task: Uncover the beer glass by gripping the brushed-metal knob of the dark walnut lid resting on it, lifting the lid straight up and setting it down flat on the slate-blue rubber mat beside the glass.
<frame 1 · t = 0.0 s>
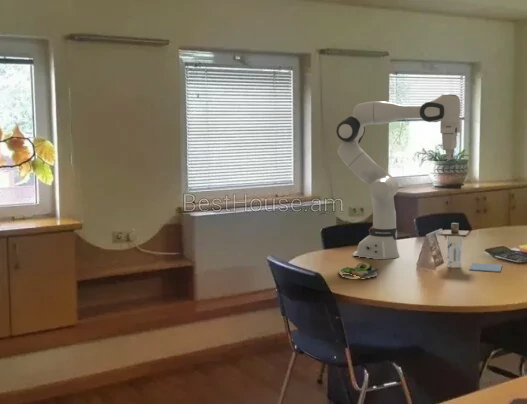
hand: (449, 158, 312), 48 cm above the table, fingers open, 8 cm apart
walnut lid: (454, 234, 302), point 15 cm above the table, touching beer glass
beer glass: (454, 267, 304), on the table, touching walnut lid
slate mat: (485, 268, 300), on the table
salad plate: (358, 275, 294), on the table
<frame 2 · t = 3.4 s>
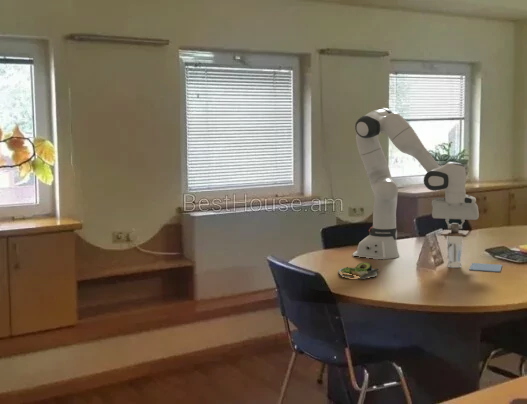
hand: (454, 228, 302), 17 cm above the table, fingers closed on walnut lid, 3 cm apart
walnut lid: (454, 234, 302), point 15 cm above the table, touching beer glass, gripper
everything else where it was.
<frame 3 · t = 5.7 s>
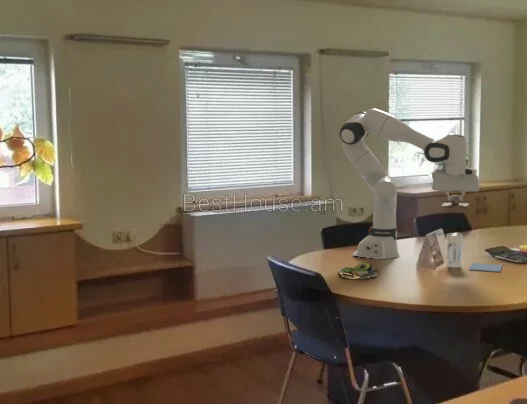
hand: (455, 200, 300), 30 cm above the table, fingers closed on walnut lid, 3 cm apart
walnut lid: (455, 206, 301), point 28 cm above the table, touching gripper
beer glass: (454, 267, 304), on the table
everything else where it was.
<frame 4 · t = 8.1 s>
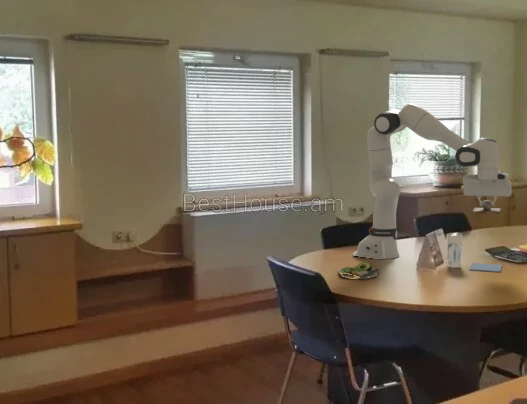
hand: (487, 206, 296), 28 cm above the table, fingers closed on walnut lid, 3 cm apart
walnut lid: (486, 211, 297), point 26 cm above the table, touching gripper
everything else where it was.
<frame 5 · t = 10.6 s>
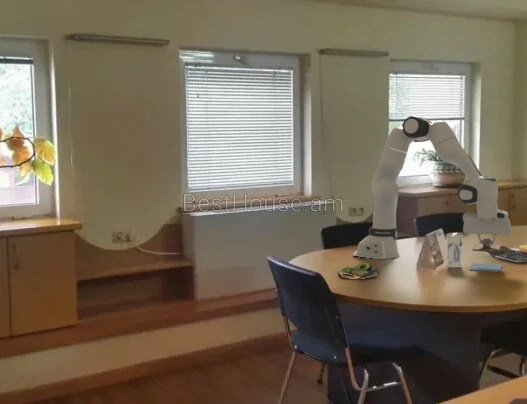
hand: (486, 243, 299), 11 cm above the table, fingers closed on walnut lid, 3 cm apart
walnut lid: (486, 249, 299), point 9 cm above the table, touching gripper
everything else where it was.
when the fingers open (5 cm above the table, at t = 12.8 s): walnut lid drops 2 cm, resting on slate mat.
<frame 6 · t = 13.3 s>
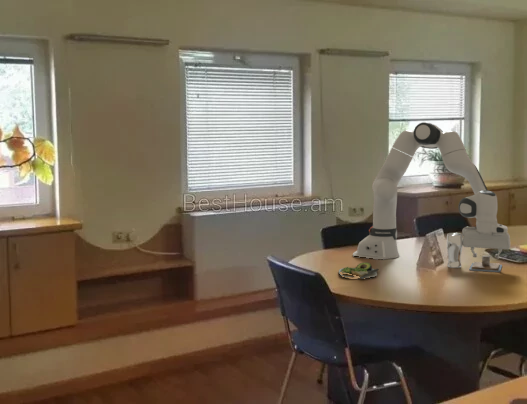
hand: (485, 257, 299), 5 cm above the table, fingers open, 8 cm apart
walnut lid: (485, 266, 300), resting on slate mat
everything else where it was.
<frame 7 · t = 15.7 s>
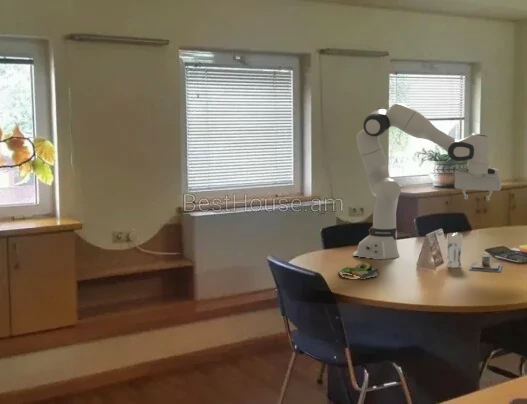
hand: (476, 199, 305), 30 cm above the table, fingers open, 8 cm apart
nothing on the table moved.
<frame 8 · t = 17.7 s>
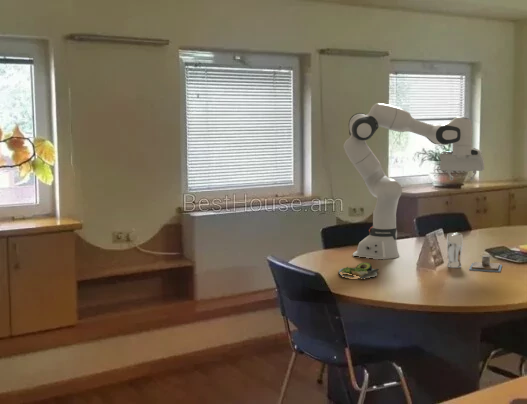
hand: (461, 180, 321), 37 cm above the table, fingers open, 8 cm apart
nothing on the table moved.
at the end: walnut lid inside the target area (0.1 cm from its centre), point 0.5 cm above the table; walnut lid touching slate mat; beer glass tilted 0° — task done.
